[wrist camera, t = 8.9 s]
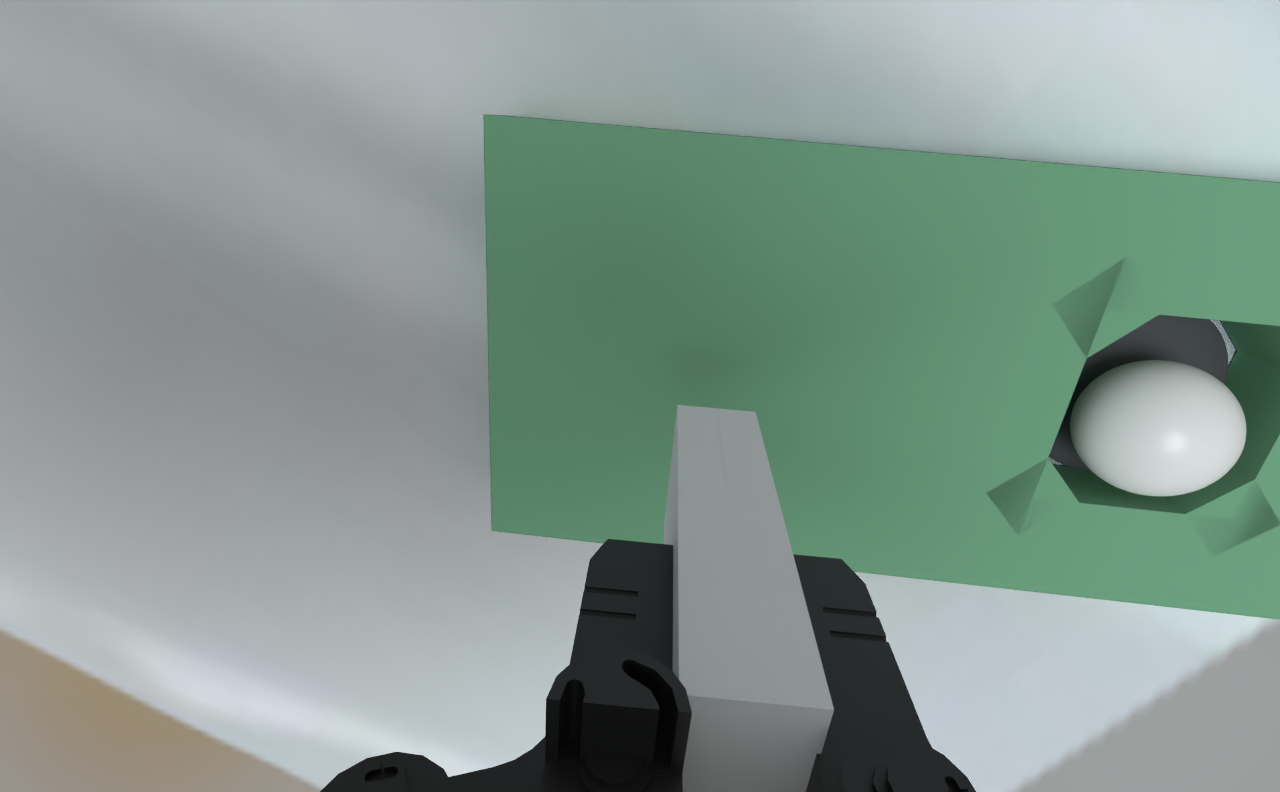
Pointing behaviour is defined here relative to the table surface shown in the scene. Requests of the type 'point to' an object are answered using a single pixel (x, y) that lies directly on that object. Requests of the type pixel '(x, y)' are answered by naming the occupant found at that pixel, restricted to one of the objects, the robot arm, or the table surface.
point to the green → (878, 350)
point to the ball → (1158, 428)
